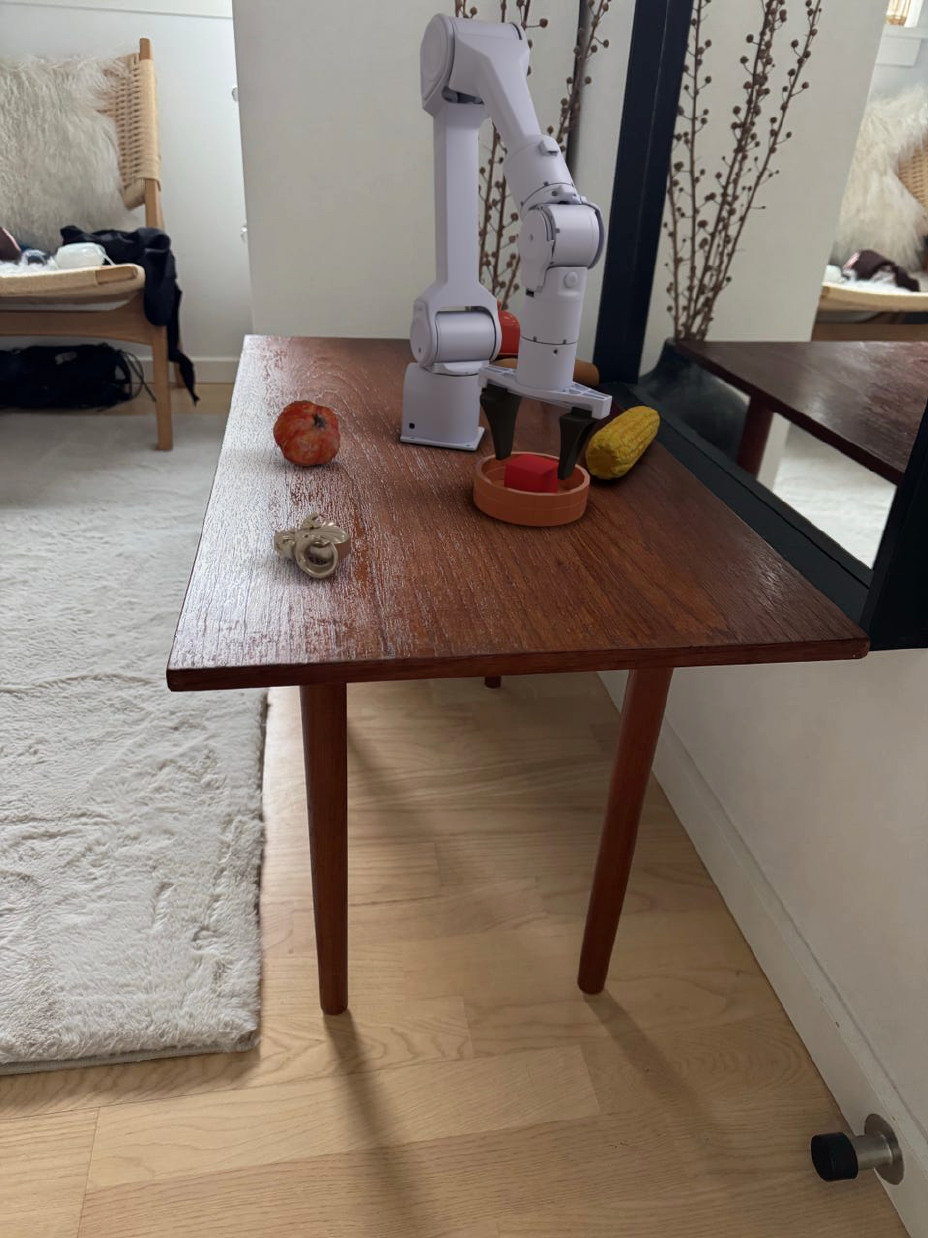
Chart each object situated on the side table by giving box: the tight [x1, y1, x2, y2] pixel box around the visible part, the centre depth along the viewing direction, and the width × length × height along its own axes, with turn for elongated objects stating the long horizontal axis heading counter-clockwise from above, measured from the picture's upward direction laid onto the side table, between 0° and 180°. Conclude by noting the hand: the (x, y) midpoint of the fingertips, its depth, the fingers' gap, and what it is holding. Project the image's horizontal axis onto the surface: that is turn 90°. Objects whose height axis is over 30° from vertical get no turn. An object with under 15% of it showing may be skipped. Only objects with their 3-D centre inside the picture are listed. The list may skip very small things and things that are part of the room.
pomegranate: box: [272, 399, 341, 468], centre depth 100 cm, size 7×7×10 cm
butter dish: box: [495, 299, 521, 359], centre depth 147 cm, size 12×12×8 cm
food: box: [584, 405, 661, 481], centre depth 109 cm, size 21×6×6 cm, turn 157°
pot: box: [472, 451, 591, 527], centre depth 95 cm, size 12×12×4 cm
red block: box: [503, 453, 559, 493], centre depth 95 cm, size 4×4×4 cm
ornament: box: [272, 511, 351, 579], centre depth 80 cm, size 8×7×4 cm
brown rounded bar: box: [482, 358, 600, 390], centre depth 134 cm, size 18×7×7 cm
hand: (533, 467), depth 94 cm, fingers open, 7 cm apart
